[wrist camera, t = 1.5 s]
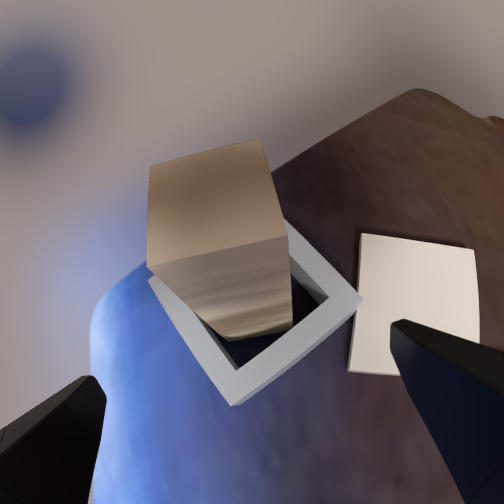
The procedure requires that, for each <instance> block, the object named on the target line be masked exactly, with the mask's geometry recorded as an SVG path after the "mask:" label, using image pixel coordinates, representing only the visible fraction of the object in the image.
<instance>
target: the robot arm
mask: <svg viewBox="0 0 504 504" xmlns="http://www.w3.org/2000/svg"><path fill="white" fill-rule="evenodd" d="M390 351H391V354H392V356H393V359H394V361H395V363H396V366H397V368H398V370H399V373H400V375H401V377H402V380H403V382H404V384H405V387H406V389H407V391H408V394H409V396H410V397H411V399H412V401H413V403H414V405H415V407H416V408H417V410H418V412H419V414H420V416H421V417H422V419H423V421H424V423H425V425H426V427H427V428H428V430H429V432H430V434H431V436H432V438H433V440H434V442H435V443H436V445H437V447H438V449H439V451H440V453H441V455H442V457H443V459H444V461H445V463H446V465H447V467H448V469H449V471H450V473H451V475H452V477H453V479H454V481H455V483H456V486H457V488H458V490H459V492H460V494H461V496H462V498H463V501H464V503H465V504H504V352H502V351H501V350H498V349H495V348H491V347H488V346H485V345H482V344H479V343H476V342H473V341H470V340H467V339H464V338H461V337H458V336H455V335H452V334H449V333H446V332H443V331H440V330H437V329H434V328H431V327H428V326H425V325H422V324H419V323H416V322H413V321H410V320H407V319H400V320H397V321H394V322H392V323H391V325H390ZM106 402H107V398H106V395H105V393H104V391H103V389H102V388H101V386H100V385H99V383H98V381H97V379H96V378H95V377H94V376H92V375H88V376H81V377H80V378H78V379H77V380H75V381H74V382H72V383H71V384H69V385H68V386H66V387H65V388H63V389H62V390H60V391H59V392H57V393H56V394H54V395H52V396H51V397H49V398H48V399H46V400H45V401H43V402H42V403H40V404H39V405H37V406H36V407H34V408H33V409H31V410H30V411H28V412H27V413H25V414H24V415H22V416H21V417H19V418H18V419H16V420H15V421H13V422H11V423H10V424H8V425H7V426H5V427H4V428H2V429H1V430H0V504H88V498H89V493H90V488H91V483H92V478H93V473H94V468H95V463H96V459H97V454H98V450H99V446H100V441H101V435H102V428H103V421H104V415H105V408H106Z"/></svg>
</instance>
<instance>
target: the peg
mask: <svg viewBox="0 0 504 504" xmlns="http://www.w3.org/2000/svg"><path fill="white" fill-rule="evenodd" d="M147 267H148V268H149V269H150V270H151V271H152V272H153V273H154V274H155V275H156V276H157V277H158V278H159V279H160V280H161V281H162V282H163V283H164V284H165V285H166V286H167V287H168V288H169V289H170V290H171V291H172V292H173V293H174V294H175V295H176V296H178V297H179V298H180V299H181V300H182V301H183V302H184V303H185V304H186V305H187V306H188V307H189V308H190V309H192V310H193V311H194V312H195V313H196V314H197V315H198V316H199V317H200V318H201V319H203V320H204V321H205V322H206V323H207V324H208V325H209V326H210V327H212V328H213V329H214V330H215V331H216V332H217V333H218V334H220V335H221V336H222V337H223V338H224V339H225V340H227V341H228V342H232V341H238V340H243V339H248V338H254V337H259V336H264V335H268V334H273V333H278V332H283V331H287V330H291V329H292V328H293V318H292V295H291V275H290V258H289V241H288V233H287V229H286V226H285V222H284V219H283V215H282V211H281V208H280V204H279V201H278V197H277V194H276V190H275V187H274V184H273V180H272V177H271V173H270V170H269V167H268V163H267V160H266V157H265V153H264V150H263V147H262V144H261V140H260V139H256V140H251V141H247V142H242V143H237V144H233V145H228V146H225V147H220V148H216V149H212V150H208V151H204V152H200V153H196V154H193V155H189V156H186V157H182V158H178V159H175V160H171V161H168V162H164V163H161V164H158V165H155V166H151V167H150V176H149V192H148V213H147Z"/></svg>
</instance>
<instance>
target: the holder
mask: <svg viewBox="0 0 504 504" xmlns="http://www.w3.org/2000/svg"><path fill="white" fill-rule="evenodd" d="M283 219H284V218H283ZM284 222H285V226H286V229H287V233H288V241H289V258H290V273H291V274H292V275H293V276H294V277H295V279H296V280H297V281H298V282H299V283H300V284H301V285H302V286H303V287H304V288H305V289H306V291H307V292H308V293H309V294H310V295H311V296H312V297H313V298H314V299H315V300H316V302H317V303H318V304H319V305H320V306H319V307H318V308H316V309H315V310H314V311H313V312H312V313H310V314H309V315H308V316H307V317H305V318H304V319H303V320H302V321H301V322H299V323H298V324H297V325H296V326H294V327H293V328H292V329H291V330H289V331H288V332H287V333H286V334H284V335H283V336H282V337H281V338H279V339H278V340H277V341H275V342H274V343H273V344H272V345H270V346H269V347H268V348H266V349H265V350H264V351H262V352H261V353H260V354H258V355H257V356H256V357H254V358H253V359H252V360H250V361H249V362H248V363H246V364H245V365H244V366H242V367H241V368H239V367H238V366H237V364H236V363H235V362H234V360H233V359H232V358H231V356H230V355H229V354H228V352H227V351H226V350H225V348H224V347H223V346H222V344H221V343H220V341H219V340H218V339H217V337H216V336H215V334H214V333H213V332H212V330H211V329H210V327H209V326H208V325H207V323H206V322H205V321H204V320H203V319H201V318H200V317H199V316H198V315H197V314H196V313H195V312H194V311H193V310H192V309H190V308H189V307H188V306H187V305H186V304H185V303H184V302H183V301H182V300H181V299H180V298H179V297H178V296H176V295H175V294H174V293H173V292H172V291H171V290H170V289H169V288H168V287H167V286H166V285H165V284H164V283H163V282H162V281H161V280H160V279H159V278H158V277H157V276H156V275H154V276H153V277H151V278H150V279H149V280H148V282H149V284H150V286H151V287H152V289H153V291H154V292H155V294H156V296H157V298H158V299H159V301H160V303H161V304H162V306H163V308H164V309H165V311H166V312H167V314H168V316H169V317H170V319H171V320H172V322H173V324H174V325H175V327H176V328H177V330H178V332H179V333H180V335H181V336H182V338H183V339H184V341H185V342H186V344H187V345H188V347H189V348H190V350H191V351H192V353H193V354H194V356H195V357H196V359H197V360H198V362H199V363H200V365H201V366H202V368H203V369H204V370H205V372H206V373H207V375H208V376H209V377H210V379H211V380H212V382H213V383H214V384H215V386H216V387H217V389H218V390H219V391H220V393H221V394H222V395H223V397H224V398H225V399H226V401H227V402H228V403H229V405H230V406H235V405H240V404H242V403H243V402H245V401H246V400H248V399H249V398H250V397H252V396H253V395H255V394H256V393H257V392H259V391H260V390H261V389H263V388H264V387H266V386H267V385H268V384H270V383H271V382H272V381H274V380H275V379H276V378H278V377H279V376H280V375H281V374H283V373H284V372H285V371H287V370H288V369H289V368H290V367H292V366H293V365H294V364H296V363H297V362H298V361H299V360H301V359H302V358H303V357H304V356H306V355H307V354H308V353H309V352H310V351H312V350H313V349H314V348H315V347H316V346H318V345H319V344H320V343H321V342H322V341H324V340H325V339H326V338H327V337H328V336H329V335H331V334H332V333H333V332H334V331H335V330H336V329H338V328H339V327H340V326H341V325H342V324H343V323H344V322H345V321H347V320H348V319H349V318H350V317H351V316H352V315H353V314H354V313H355V312H356V310H357V309H358V307H359V306H360V304H361V303H362V301H363V300H364V299H363V298H362V297H361V296H360V295H359V294H358V293H357V291H356V290H355V289H354V288H353V287H352V286H351V285H350V284H349V283H348V282H347V281H346V280H345V279H344V278H343V277H342V276H341V275H340V274H339V273H338V272H337V271H336V270H335V269H334V268H333V267H332V266H331V265H330V264H329V263H328V262H327V261H326V260H325V259H324V257H323V256H322V255H321V254H320V253H319V252H318V251H317V250H316V249H315V248H314V247H313V246H312V245H311V244H310V243H309V242H308V241H307V240H306V239H305V238H304V237H303V236H301V235H300V234H299V233H298V232H297V231H296V230H295V229H294V228H293V227H292V226H291V225H290V224H289V223H288V222H287V221H286V220H285V219H284Z"/></svg>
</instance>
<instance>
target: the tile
mask: <svg viewBox="0 0 504 504" xmlns="http://www.w3.org/2000/svg"><path fill="white" fill-rule="evenodd" d="M356 291H357V293H358V294H359V295H360V296H361V297H362V298H363V299H364V300H363V301H362V303H361V304H360V306H359V307H358V309H357V310H356V312H355V313H354V320H353V329H352V337H351V345H350V352H349V359H348V366H347V371H348V372H358V373H368V374H381V375H395V376H401V375H400V373H399V370H398V368H397V366H396V363H395V361H394V359H393V356H392V354H391V351H390V325H391V323H392V322H394V321H397V320H400V319H407V320H410V321H413V322H416V323H419V324H422V325H425V326H428V327H431V328H434V329H437V330H440V331H443V332H446V333H449V334H452V335H455V336H458V337H461V338H464V339H467V340H470V341H473V342H476V343H479V300H478V285H477V274H476V265H475V257H474V250H471V249H465V248H459V247H453V246H447V245H440V244H434V243H428V242H421V241H414V240H408V239H401V238H394V237H387V236H380V235H373V234H365V233H362V234H361V237H360V243H359V262H358V277H357V290H356Z"/></svg>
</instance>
